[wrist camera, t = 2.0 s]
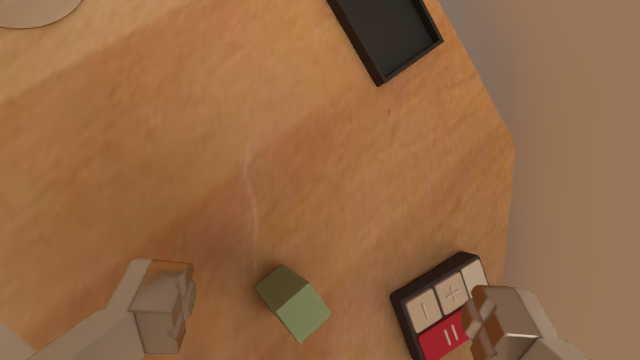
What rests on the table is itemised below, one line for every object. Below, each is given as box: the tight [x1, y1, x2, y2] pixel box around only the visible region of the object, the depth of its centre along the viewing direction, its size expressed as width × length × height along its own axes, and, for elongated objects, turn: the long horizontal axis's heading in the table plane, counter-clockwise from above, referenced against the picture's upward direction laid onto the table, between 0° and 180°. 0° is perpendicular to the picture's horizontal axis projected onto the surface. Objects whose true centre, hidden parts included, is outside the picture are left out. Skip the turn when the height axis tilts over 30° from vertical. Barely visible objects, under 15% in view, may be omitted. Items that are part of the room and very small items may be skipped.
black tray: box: [327, 0, 444, 87], centre depth 53 cm, size 14×13×2 cm
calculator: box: [390, 252, 489, 360], centre depth 54 cm, size 11×4×15 cm
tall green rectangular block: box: [254, 264, 332, 344], centre depth 42 cm, size 4×4×10 cm
